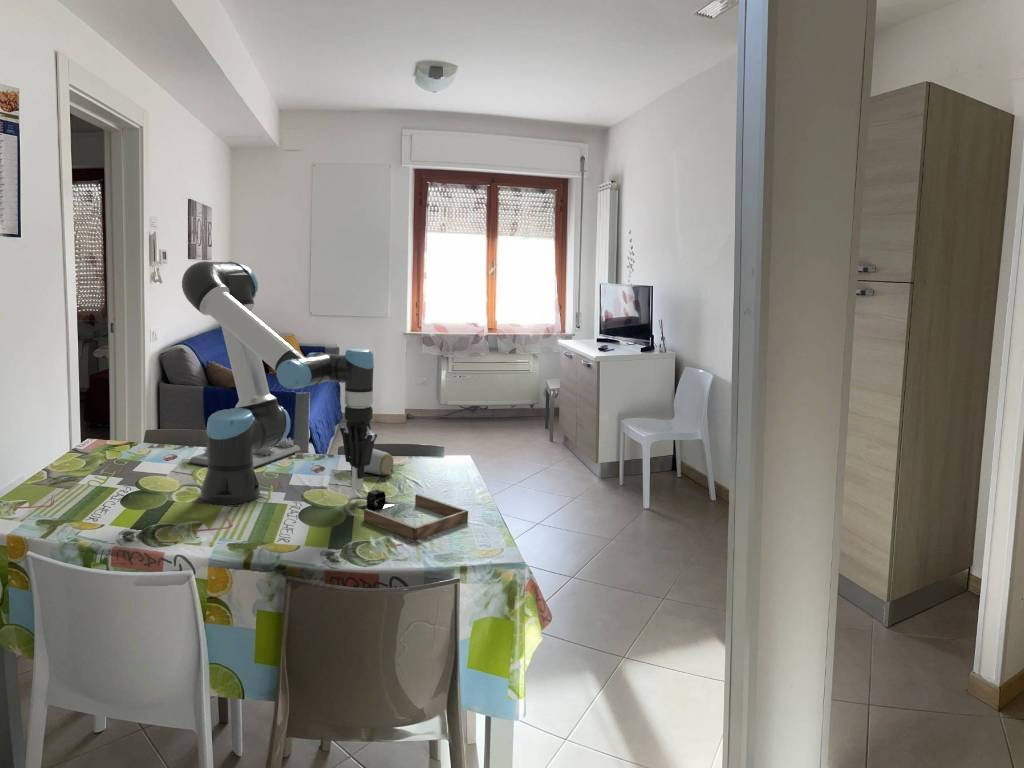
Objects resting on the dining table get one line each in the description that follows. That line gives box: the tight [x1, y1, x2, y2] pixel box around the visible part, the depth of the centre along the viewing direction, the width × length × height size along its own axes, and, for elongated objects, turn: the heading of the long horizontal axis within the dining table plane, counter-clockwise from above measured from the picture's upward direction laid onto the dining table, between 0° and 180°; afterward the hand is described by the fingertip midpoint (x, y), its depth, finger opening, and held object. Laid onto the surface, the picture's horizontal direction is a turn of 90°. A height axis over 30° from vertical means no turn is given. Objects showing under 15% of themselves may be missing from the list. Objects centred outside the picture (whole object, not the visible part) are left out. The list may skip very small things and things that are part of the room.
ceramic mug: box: [364, 448, 395, 476], centre depth 233 cm, size 11×8×8 cm
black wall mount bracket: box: [356, 489, 396, 512], centre depth 202 cm, size 12×7×5 cm, turn 142°
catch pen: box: [363, 493, 469, 541], centre depth 192 cm, size 19×19×3 cm
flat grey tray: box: [189, 437, 302, 470], centre depth 242 cm, size 30×22×7 cm
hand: (357, 488), depth 206 cm, fingers closed
